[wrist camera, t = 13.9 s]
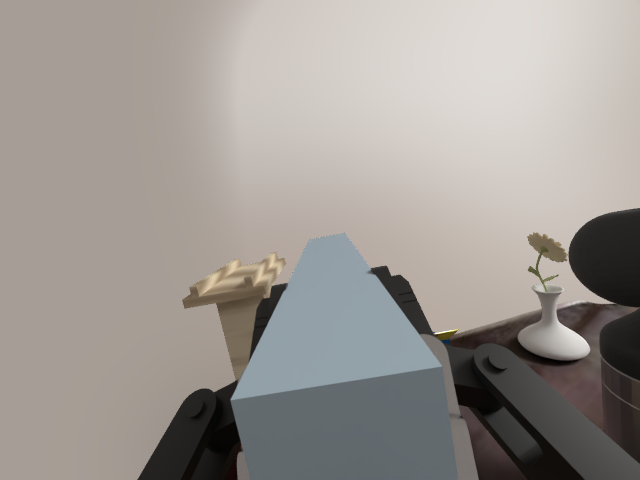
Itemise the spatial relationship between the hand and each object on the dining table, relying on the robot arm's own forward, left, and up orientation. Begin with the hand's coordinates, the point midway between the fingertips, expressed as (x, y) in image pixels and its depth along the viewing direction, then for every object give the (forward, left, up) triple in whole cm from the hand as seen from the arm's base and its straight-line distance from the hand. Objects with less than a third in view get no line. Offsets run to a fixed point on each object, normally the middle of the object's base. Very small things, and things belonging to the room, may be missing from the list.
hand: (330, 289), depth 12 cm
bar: (+4, -3, -3) cm, 6 cm away
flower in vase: (+10, -59, -35) cm, 69 cm away
